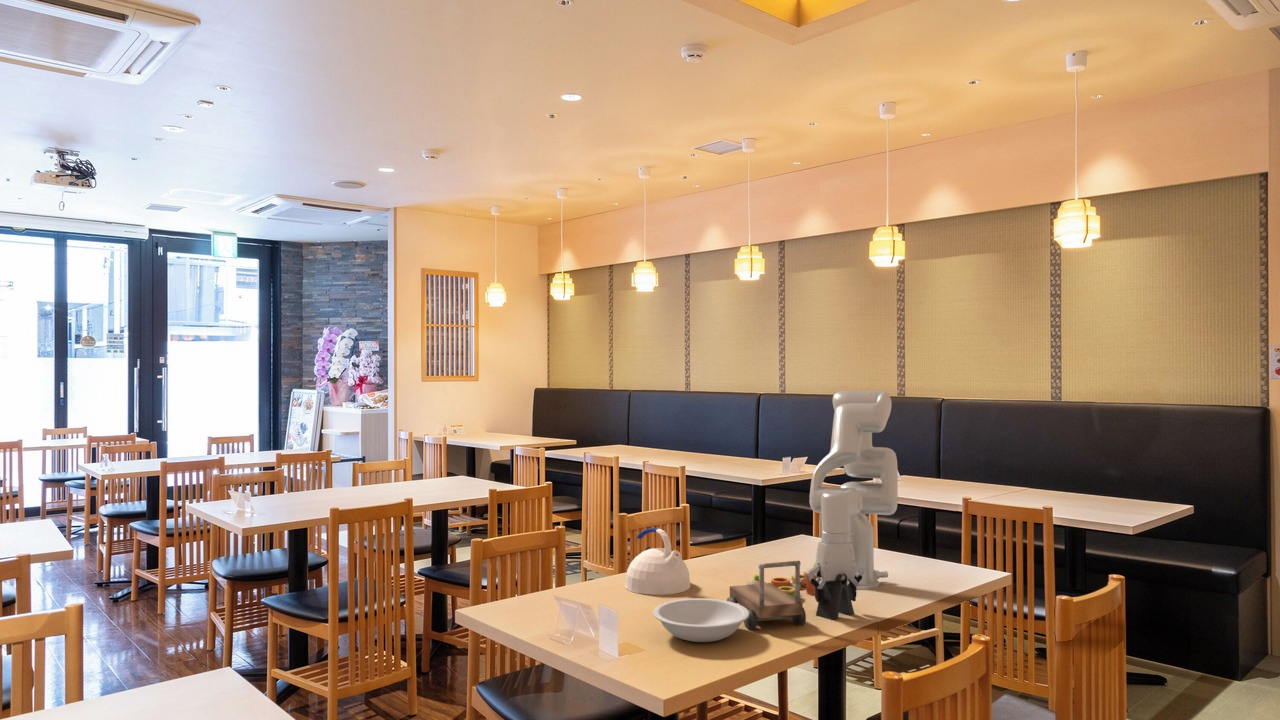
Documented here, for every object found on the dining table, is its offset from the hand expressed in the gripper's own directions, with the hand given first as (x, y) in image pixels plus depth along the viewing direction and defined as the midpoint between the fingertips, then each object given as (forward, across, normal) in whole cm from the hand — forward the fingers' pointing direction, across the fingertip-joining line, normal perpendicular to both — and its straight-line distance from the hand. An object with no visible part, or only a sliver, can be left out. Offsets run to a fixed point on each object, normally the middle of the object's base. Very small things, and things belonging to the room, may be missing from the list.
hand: (835, 601), depth 225 cm
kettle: (+4, +37, -43) cm, 57 cm away
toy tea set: (+4, +3, -23) cm, 23 cm away
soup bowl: (+4, +41, +6) cm, 42 cm away
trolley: (+4, +20, -2) cm, 20 cm away
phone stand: (+4, 0, 0) cm, 4 cm away
